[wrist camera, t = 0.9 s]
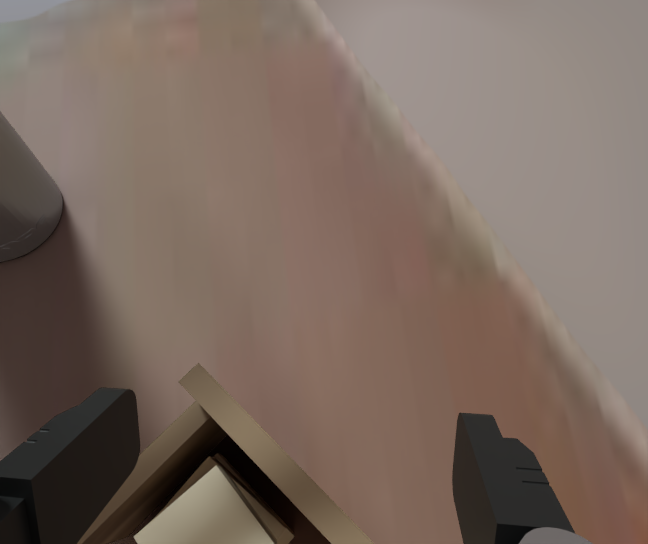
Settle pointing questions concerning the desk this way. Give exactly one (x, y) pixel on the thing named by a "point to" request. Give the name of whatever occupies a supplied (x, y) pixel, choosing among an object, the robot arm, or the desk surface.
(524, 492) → the robot arm
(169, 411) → the desk surface
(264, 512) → the block
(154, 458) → the walnut rack
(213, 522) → the offcut top
